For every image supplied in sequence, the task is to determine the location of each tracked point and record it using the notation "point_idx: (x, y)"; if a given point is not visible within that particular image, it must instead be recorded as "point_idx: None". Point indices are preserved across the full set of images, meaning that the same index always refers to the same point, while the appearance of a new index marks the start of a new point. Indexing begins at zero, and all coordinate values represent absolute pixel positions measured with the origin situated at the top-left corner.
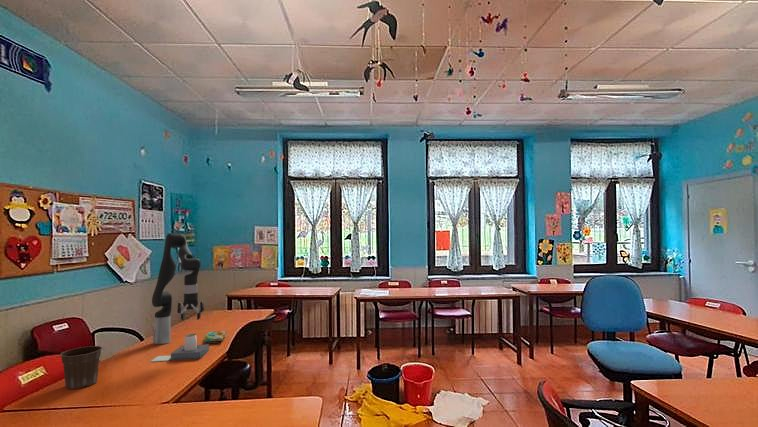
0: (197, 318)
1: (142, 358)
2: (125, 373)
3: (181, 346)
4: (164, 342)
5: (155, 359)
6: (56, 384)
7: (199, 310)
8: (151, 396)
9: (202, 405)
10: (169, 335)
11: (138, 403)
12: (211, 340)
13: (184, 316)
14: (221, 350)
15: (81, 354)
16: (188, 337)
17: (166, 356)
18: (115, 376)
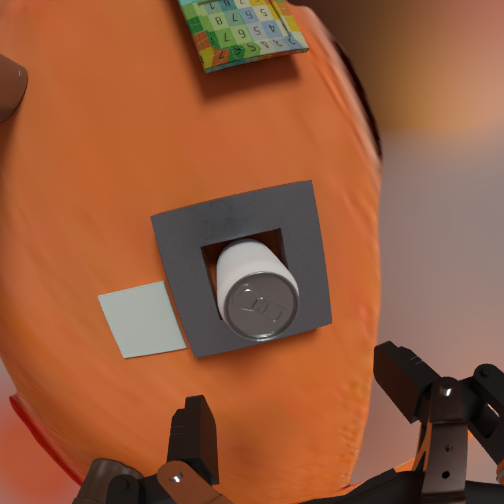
0: (383, 383)
1: (58, 312)
2: (145, 437)
3: (162, 235)
4: (14, 104)
5: (125, 339)
6: (71, 462)
7: (453, 405)
8: (314, 487)
9: (398, 469)
10: (10, 73)
11: (307, 498)
12: (253, 60)
13: (200, 421)
14: (356, 174)
15: (75, 500)
16: (264, 336)
17: (139, 300)
18: (141, 450)
